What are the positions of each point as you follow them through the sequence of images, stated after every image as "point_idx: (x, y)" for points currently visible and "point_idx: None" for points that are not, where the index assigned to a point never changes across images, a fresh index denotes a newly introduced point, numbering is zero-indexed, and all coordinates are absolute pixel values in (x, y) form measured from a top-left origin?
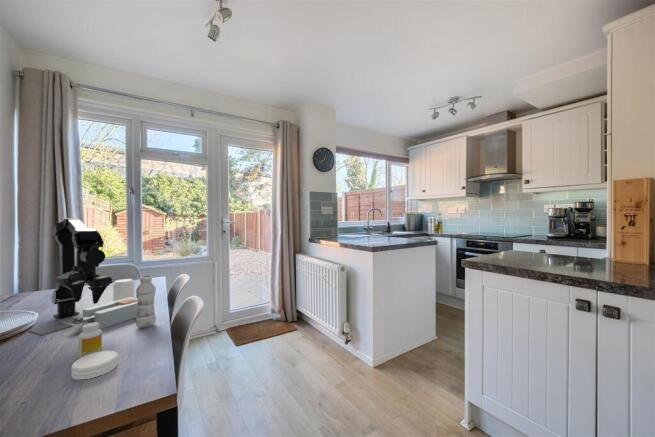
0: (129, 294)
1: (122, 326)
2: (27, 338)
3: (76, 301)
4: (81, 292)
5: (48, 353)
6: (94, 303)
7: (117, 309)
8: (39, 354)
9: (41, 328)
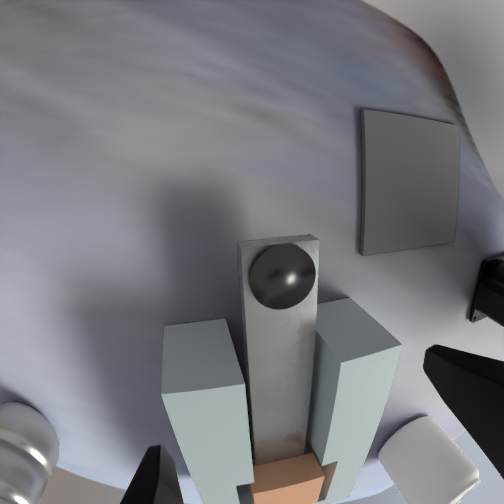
0: (397, 482)
1: (108, 392)
2: (375, 69)
3: (429, 353)
4: (475, 436)
5: (30, 53)
6: (148, 449)
7: (187, 461)
8: (58, 24)
9: (444, 159)
